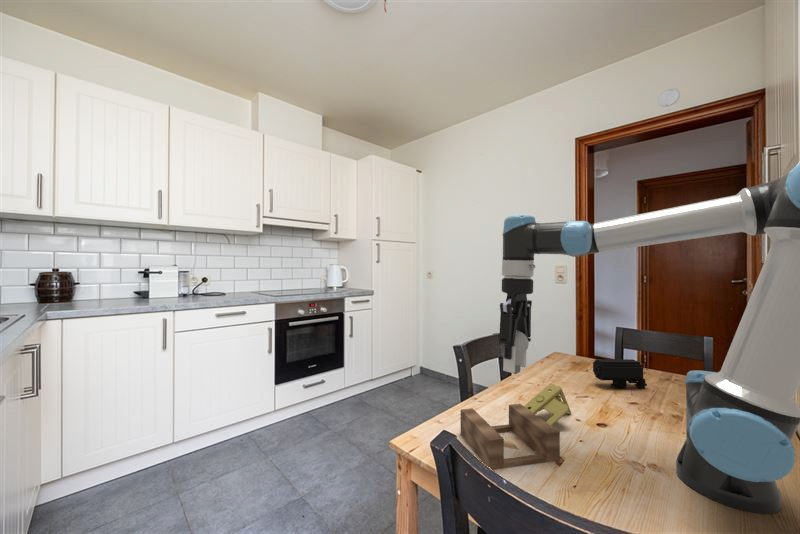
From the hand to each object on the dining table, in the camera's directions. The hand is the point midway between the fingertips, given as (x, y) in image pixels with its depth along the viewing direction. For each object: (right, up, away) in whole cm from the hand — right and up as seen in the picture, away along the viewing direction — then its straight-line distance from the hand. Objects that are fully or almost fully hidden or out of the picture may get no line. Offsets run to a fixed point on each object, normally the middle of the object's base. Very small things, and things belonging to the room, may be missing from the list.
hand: (514, 368), depth 81 cm
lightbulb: (0, -2, 0) cm, 2 cm away
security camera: (+56, -21, +42) cm, 73 cm away
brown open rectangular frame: (-2, -20, 0) cm, 20 cm away
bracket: (+19, -23, +15) cm, 33 cm away
